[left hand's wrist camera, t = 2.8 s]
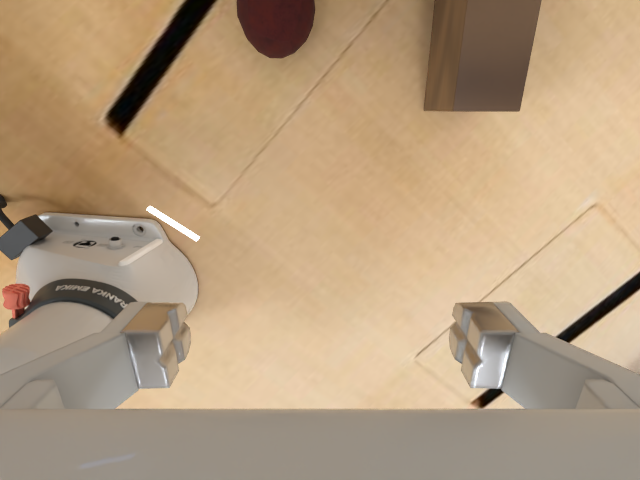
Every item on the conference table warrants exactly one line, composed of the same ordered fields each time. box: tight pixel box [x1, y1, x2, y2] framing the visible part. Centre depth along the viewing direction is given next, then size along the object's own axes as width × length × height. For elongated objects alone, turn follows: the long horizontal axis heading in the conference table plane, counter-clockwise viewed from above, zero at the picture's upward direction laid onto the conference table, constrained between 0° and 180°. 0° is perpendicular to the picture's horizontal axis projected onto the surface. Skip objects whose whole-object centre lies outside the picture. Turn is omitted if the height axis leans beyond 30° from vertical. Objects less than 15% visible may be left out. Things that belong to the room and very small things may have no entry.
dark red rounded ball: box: [237, 0, 315, 58], centre depth 33 cm, size 7×8×7 cm
